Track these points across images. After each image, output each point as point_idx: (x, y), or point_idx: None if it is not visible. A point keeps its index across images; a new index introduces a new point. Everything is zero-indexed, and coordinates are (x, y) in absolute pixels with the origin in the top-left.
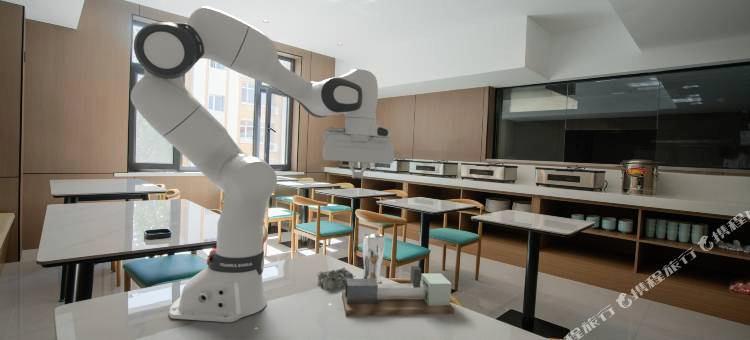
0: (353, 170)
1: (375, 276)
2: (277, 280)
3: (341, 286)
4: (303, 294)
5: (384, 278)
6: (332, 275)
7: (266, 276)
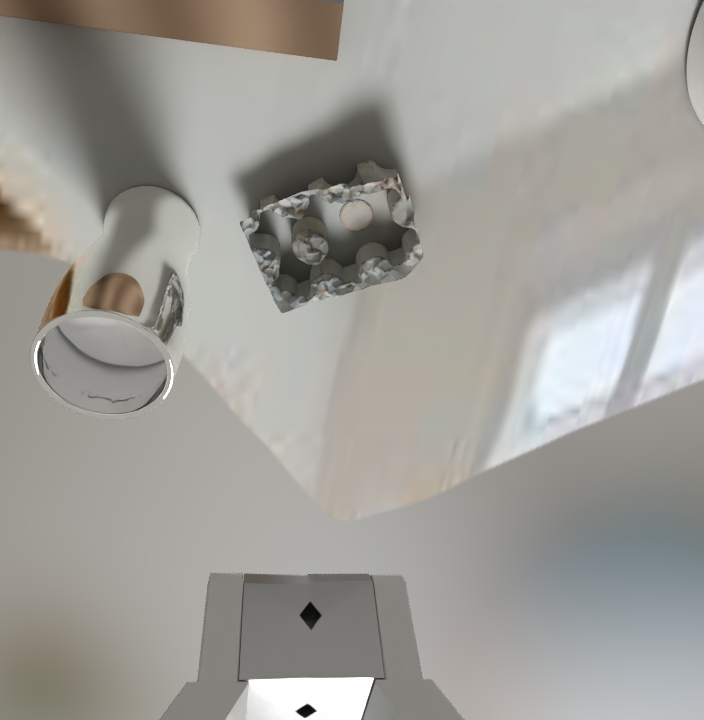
0: (422, 707)
1: (132, 207)
2: (568, 279)
3: (312, 182)
4: (505, 112)
5: None
6: (340, 274)
7: (598, 323)
